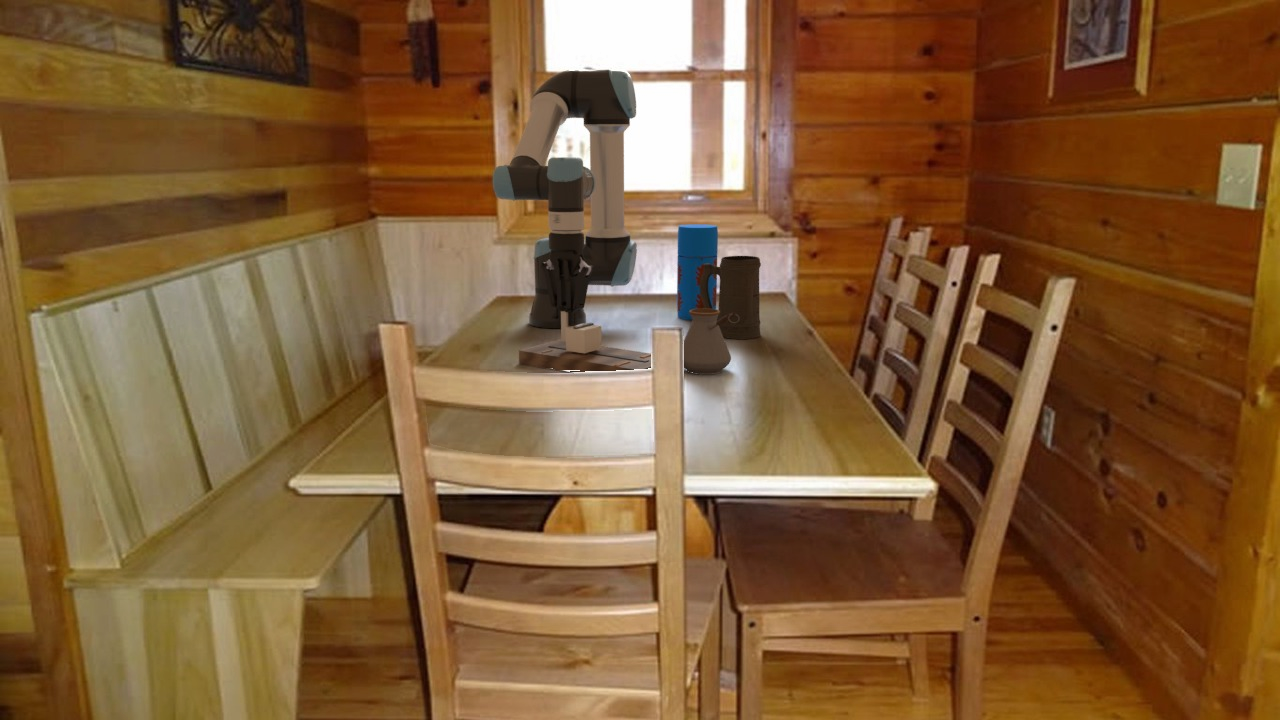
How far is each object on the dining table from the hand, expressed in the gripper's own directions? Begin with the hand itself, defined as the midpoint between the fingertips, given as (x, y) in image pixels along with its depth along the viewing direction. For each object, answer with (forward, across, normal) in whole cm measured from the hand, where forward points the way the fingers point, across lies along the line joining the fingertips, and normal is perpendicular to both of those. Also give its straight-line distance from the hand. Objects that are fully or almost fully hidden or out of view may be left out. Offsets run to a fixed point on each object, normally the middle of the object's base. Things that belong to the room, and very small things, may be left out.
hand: (567, 340), depth 204 cm
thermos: (+5, -7, +64) cm, 65 cm away
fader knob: (+2, +4, 0) cm, 5 cm away
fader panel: (+5, +8, 0) cm, 9 cm away
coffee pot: (+5, +32, +9) cm, 33 cm away
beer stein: (+5, +13, +47) cm, 49 cm away
